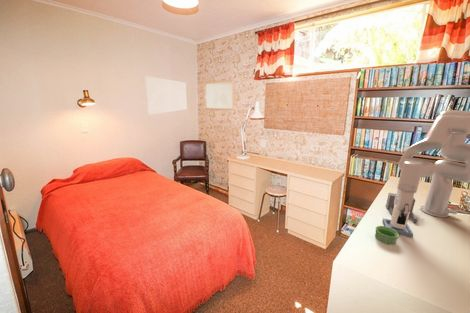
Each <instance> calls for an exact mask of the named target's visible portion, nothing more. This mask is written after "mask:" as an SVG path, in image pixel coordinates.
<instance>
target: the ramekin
mask: <svg viewBox="0 0 470 313" xmlns="http://www.w3.org/2000/svg"><path fill="white" fill-rule="evenodd" d="M374 236H375V239H376V240H378V241H379V242H380V243H381V244H385V245H395V244H396V243H397V241H398V238H399V237H400V235H399V234H398V232H396V231H395V230H393V229H391V228H388V227H385V226H384V225H377V226H376V227H375V234H374Z"/></svg>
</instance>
